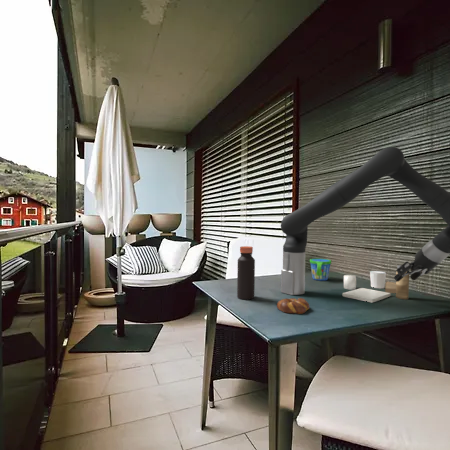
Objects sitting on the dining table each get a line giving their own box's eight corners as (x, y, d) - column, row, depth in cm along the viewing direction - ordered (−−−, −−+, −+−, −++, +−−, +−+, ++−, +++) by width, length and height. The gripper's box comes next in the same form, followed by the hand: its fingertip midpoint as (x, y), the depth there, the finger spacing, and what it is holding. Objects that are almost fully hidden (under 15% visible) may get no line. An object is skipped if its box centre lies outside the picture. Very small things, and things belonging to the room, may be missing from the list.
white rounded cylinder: (354, 290, 135) (354, 277, 134) (342, 288, 138) (342, 276, 138) (357, 287, 139) (357, 275, 138) (345, 286, 142) (345, 274, 142)
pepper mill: (405, 299, 119) (406, 266, 119) (393, 297, 122) (394, 265, 122) (410, 298, 122) (411, 265, 122) (398, 295, 125) (399, 264, 125)
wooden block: (395, 293, 129) (396, 284, 129) (385, 292, 132) (385, 283, 132) (397, 291, 132) (397, 282, 132) (386, 290, 135) (387, 281, 135)
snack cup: (328, 283, 148) (328, 262, 147) (306, 281, 153) (306, 260, 152) (333, 278, 162) (333, 258, 161) (312, 276, 166) (313, 257, 166)
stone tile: (372, 302, 115) (372, 299, 115) (342, 296, 124) (342, 293, 124) (390, 296, 125) (390, 293, 125) (361, 290, 134) (361, 287, 134)
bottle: (255, 296, 122) (256, 246, 122) (252, 300, 116) (253, 248, 115) (239, 294, 124) (239, 245, 124) (235, 299, 118) (235, 247, 117)
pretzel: (291, 303, 114) (291, 293, 114) (316, 310, 105) (317, 299, 105) (269, 309, 106) (270, 298, 106) (295, 317, 98) (295, 305, 98)
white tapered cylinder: (388, 289, 137) (388, 273, 137) (371, 288, 139) (372, 272, 139) (383, 285, 144) (383, 271, 144) (367, 285, 145) (368, 270, 145)
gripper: (439, 245, 115) (411, 270, 126) (411, 246, 110) (384, 272, 121) (453, 261, 110) (423, 286, 121) (425, 262, 105) (395, 288, 117)
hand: (403, 279), depth 121 cm, fingers open, 8 cm apart
